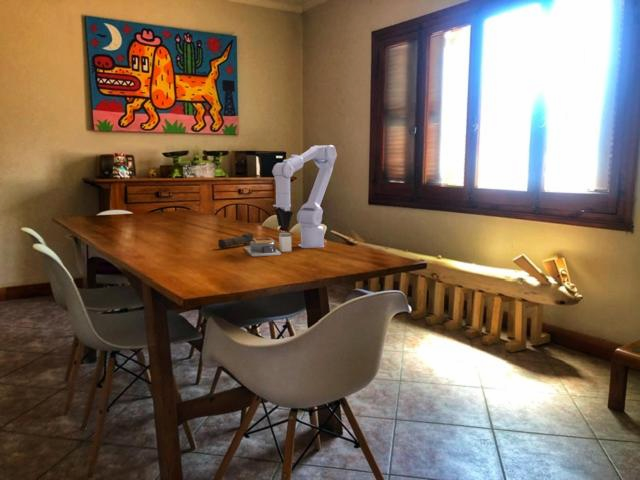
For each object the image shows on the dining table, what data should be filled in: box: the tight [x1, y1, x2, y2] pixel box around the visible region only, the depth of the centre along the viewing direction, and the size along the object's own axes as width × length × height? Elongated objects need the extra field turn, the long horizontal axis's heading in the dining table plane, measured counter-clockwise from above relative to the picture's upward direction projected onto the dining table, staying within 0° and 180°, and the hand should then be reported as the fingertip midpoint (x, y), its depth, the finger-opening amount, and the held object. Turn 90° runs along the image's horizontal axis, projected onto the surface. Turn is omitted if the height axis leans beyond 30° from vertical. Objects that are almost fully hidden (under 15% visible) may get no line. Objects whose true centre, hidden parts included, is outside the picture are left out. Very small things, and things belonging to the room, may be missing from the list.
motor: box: [244, 237, 282, 257], centre depth 204 cm, size 11×18×5 cm, turn 18°
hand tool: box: [217, 232, 255, 249], centre depth 216 cm, size 19×4×5 cm, turn 141°
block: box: [278, 232, 292, 253], centre depth 207 cm, size 4×4×7 cm
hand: (283, 227), depth 206 cm, fingers open, 7 cm apart
